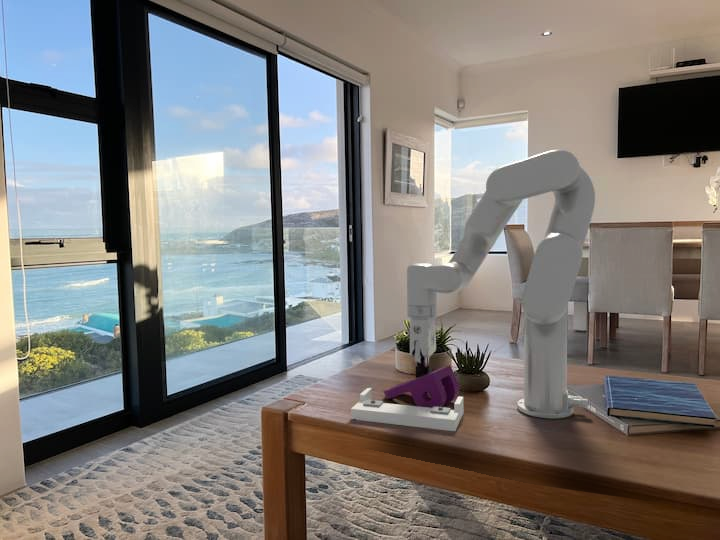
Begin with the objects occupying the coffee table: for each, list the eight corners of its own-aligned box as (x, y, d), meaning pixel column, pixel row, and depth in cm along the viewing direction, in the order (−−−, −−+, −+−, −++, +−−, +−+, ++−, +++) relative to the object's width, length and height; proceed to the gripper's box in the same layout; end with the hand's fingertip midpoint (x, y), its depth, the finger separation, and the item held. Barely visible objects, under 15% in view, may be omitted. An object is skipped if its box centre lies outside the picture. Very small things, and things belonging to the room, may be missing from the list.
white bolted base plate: (463, 413, 120) (463, 396, 120) (455, 431, 110) (455, 413, 109) (367, 403, 129) (367, 387, 128) (351, 419, 118) (350, 402, 118)
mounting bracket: (389, 426, 129) (446, 407, 119) (376, 394, 131) (432, 373, 121) (408, 414, 137) (464, 397, 127) (396, 385, 138) (450, 364, 128)
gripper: (429, 316, 123) (429, 390, 125) (442, 307, 137) (442, 374, 139) (399, 315, 126) (400, 388, 127) (415, 306, 140) (415, 372, 141)
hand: (422, 380), depth 133 cm, fingers closed
